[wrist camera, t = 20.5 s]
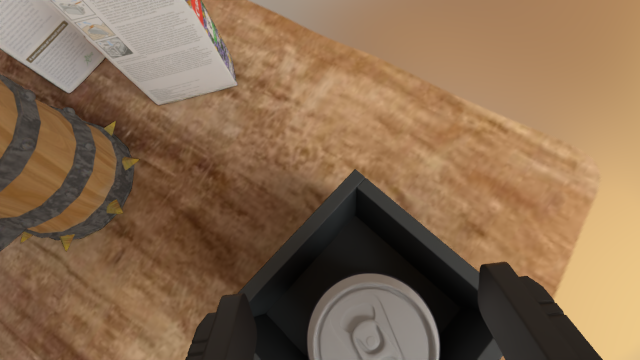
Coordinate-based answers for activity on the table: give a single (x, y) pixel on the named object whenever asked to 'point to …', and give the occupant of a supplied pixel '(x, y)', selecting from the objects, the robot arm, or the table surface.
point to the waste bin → (365, 256)
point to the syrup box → (46, 42)
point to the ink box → (156, 44)
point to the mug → (56, 170)
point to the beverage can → (371, 321)
